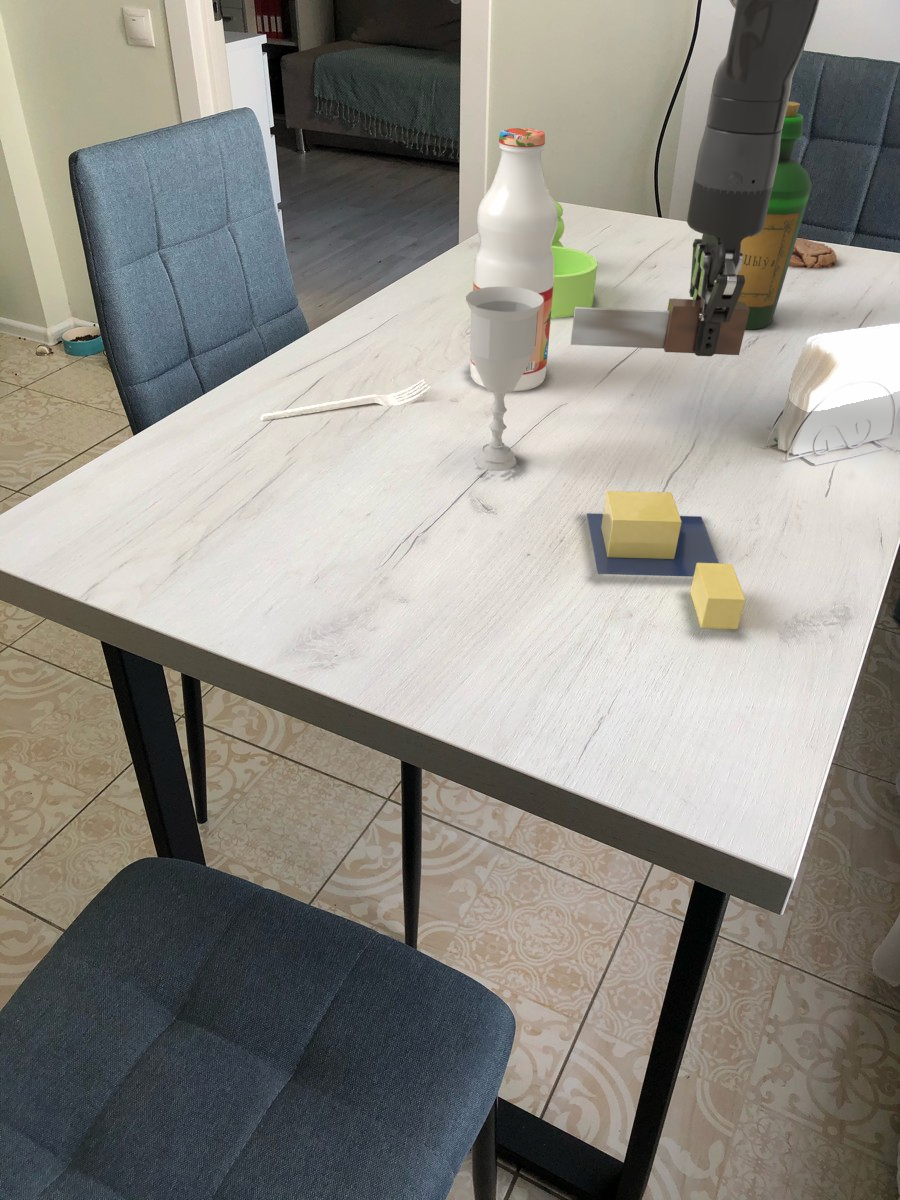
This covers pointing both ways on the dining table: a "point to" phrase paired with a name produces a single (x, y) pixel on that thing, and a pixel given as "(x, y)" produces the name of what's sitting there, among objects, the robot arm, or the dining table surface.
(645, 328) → the knife
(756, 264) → the bottle
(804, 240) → the cookie
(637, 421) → the dining table surface
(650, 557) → the butter dish
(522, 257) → the fruit juice
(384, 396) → the fork
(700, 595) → the butter slice
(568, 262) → the food container
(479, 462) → the chalice
